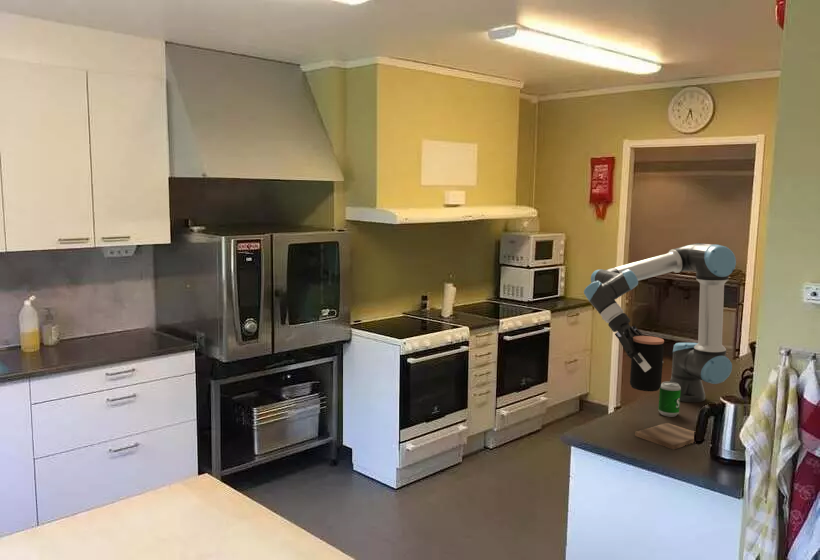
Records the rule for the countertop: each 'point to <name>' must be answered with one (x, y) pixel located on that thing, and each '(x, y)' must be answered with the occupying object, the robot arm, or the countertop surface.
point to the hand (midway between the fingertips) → (654, 367)
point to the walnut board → (667, 435)
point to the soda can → (669, 399)
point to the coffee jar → (653, 355)
